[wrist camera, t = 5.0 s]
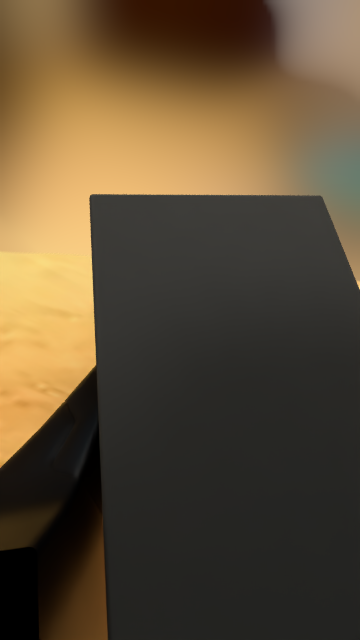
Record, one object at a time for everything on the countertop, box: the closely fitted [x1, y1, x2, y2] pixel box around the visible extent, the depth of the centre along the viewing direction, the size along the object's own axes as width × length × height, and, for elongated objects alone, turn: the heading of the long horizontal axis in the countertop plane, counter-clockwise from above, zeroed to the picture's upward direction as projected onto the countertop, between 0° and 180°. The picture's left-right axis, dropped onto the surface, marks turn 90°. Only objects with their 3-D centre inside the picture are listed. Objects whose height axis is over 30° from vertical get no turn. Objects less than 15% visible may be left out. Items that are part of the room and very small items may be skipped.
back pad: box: [90, 194, 360, 640], centre depth 9 cm, size 7×5×12 cm
